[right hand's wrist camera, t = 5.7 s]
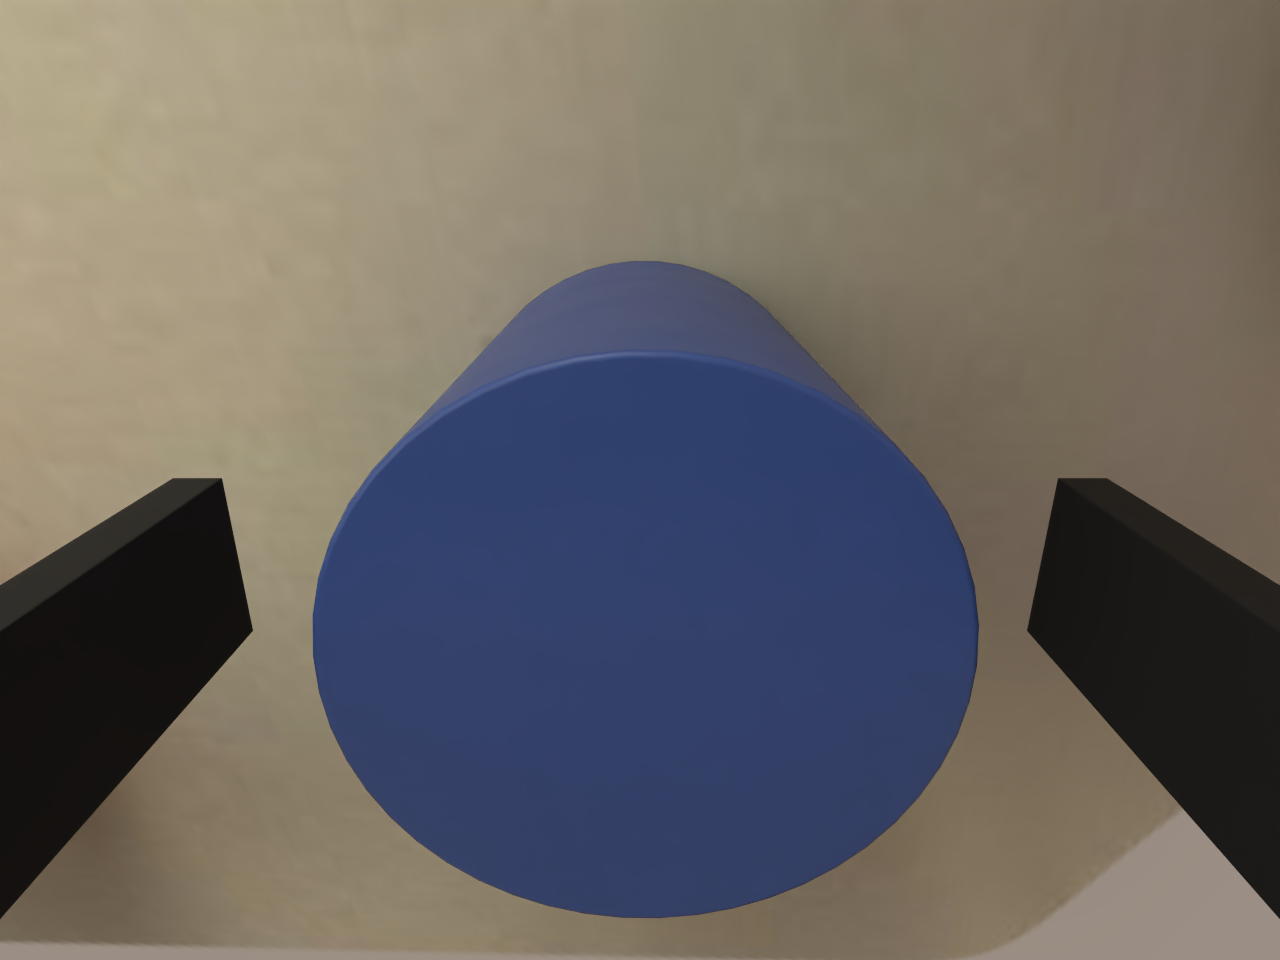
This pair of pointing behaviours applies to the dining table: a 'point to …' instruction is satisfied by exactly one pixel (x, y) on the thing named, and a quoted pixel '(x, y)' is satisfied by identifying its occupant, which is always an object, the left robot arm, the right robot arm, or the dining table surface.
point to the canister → (645, 609)
